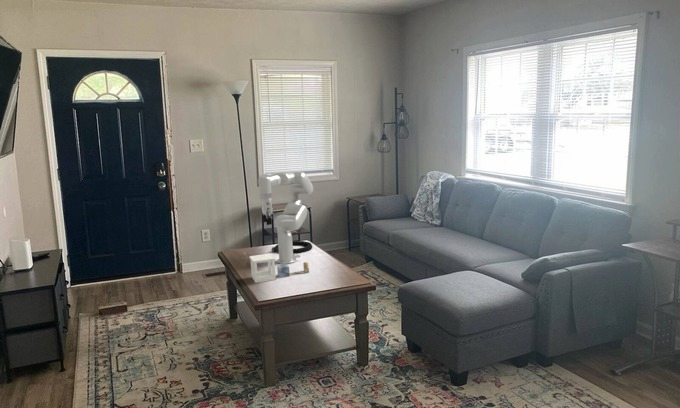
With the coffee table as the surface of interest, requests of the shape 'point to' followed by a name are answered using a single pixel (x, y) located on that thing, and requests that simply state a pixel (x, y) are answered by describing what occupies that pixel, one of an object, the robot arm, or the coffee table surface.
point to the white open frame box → (262, 275)
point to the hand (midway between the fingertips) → (267, 223)
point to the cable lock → (299, 250)
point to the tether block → (284, 272)
